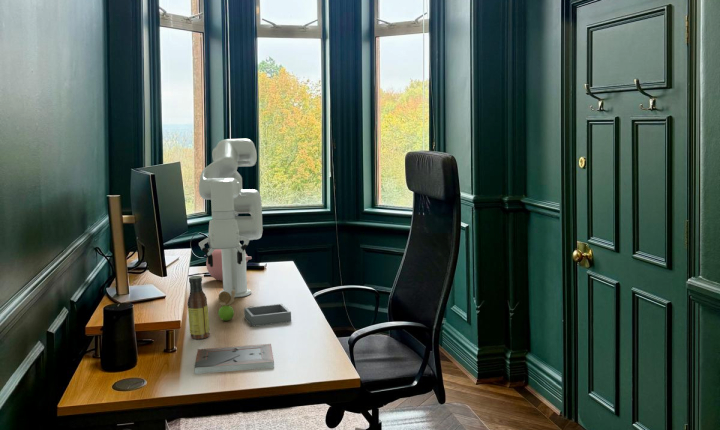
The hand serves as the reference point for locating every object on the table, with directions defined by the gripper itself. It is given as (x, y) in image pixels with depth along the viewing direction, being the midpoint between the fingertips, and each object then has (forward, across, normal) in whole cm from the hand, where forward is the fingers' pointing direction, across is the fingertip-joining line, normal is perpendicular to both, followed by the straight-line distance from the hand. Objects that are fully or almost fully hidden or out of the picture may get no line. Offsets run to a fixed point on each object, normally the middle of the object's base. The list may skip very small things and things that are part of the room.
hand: (225, 264), depth 240 cm
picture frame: (+21, +6, +44) cm, 49 cm away
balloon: (+20, -13, -66) cm, 70 cm away
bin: (+20, -13, +5) cm, 24 cm away
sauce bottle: (+20, +12, +16) cm, 28 cm away
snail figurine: (+20, 0, 0) cm, 20 cm away
